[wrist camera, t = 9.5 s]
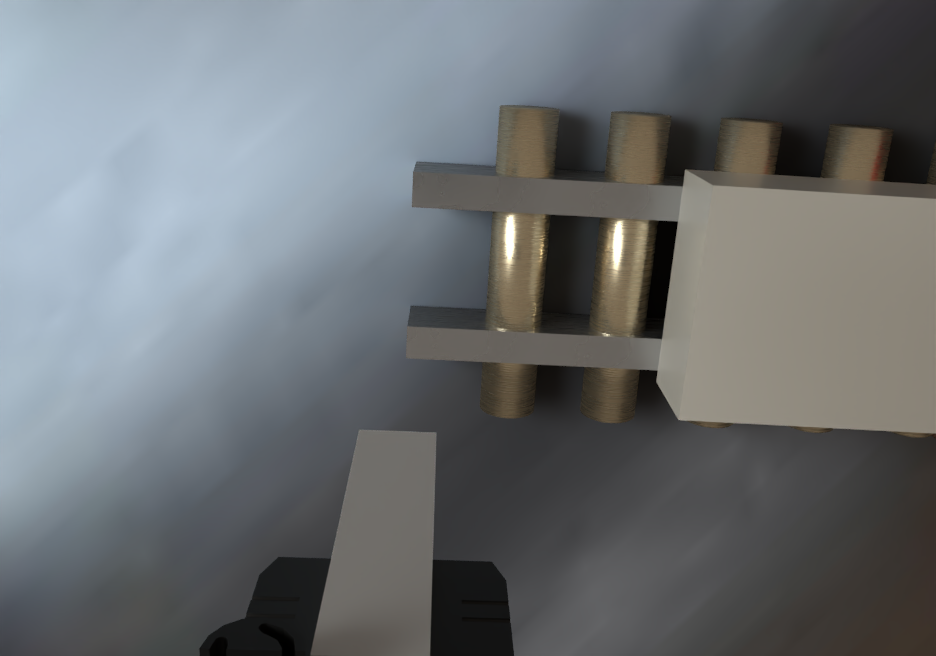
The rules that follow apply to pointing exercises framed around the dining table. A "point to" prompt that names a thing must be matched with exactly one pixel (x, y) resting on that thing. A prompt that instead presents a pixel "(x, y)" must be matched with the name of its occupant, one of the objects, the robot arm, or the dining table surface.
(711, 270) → the paver
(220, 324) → the dining table surface
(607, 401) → the rack with metal cylinders
